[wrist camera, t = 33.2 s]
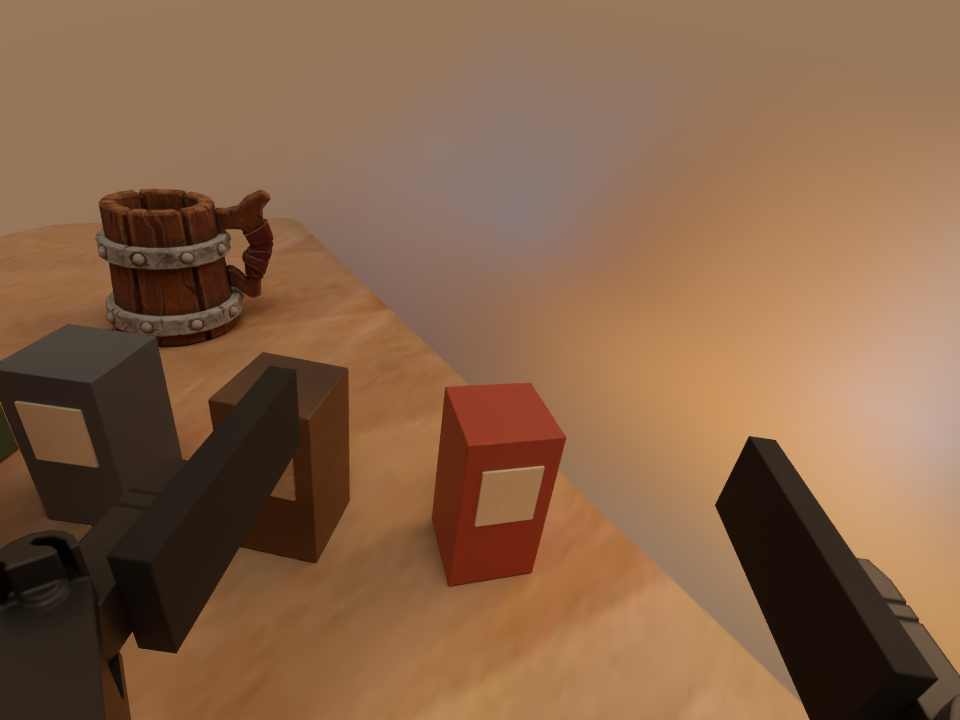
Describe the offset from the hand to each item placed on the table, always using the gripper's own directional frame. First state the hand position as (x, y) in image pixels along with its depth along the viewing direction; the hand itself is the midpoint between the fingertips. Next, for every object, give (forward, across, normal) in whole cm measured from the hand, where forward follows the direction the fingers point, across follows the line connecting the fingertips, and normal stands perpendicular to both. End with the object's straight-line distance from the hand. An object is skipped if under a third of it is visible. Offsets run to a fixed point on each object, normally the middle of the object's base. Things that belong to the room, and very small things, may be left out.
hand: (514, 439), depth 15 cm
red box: (+10, 0, -16) cm, 18 cm away
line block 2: (+9, -11, -16) cm, 21 cm away
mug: (+32, -30, -16) cm, 47 cm away
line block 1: (+10, -22, -16) cm, 29 cm away
